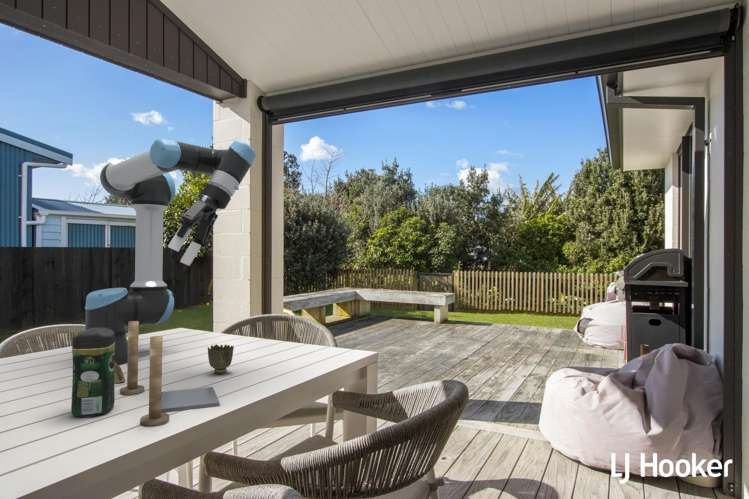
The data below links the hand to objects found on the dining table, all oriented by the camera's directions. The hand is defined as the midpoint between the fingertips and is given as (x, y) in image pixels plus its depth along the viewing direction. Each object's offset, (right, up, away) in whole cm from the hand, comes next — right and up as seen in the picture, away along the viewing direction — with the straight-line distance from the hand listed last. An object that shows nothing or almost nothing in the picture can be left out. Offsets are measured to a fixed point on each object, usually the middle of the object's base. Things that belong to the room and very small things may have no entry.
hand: (179, 257), depth 125 cm
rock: (-22, -35, +3) cm, 41 cm away
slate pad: (+6, -35, -9) cm, 36 cm away
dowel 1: (-11, -34, -3) cm, 36 cm away
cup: (+5, -35, +17) cm, 39 cm away
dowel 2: (+5, -35, -24) cm, 42 cm away
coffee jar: (-12, -35, -18) cm, 41 cm away
